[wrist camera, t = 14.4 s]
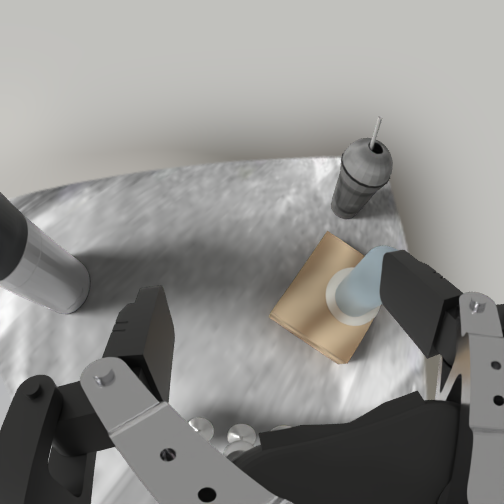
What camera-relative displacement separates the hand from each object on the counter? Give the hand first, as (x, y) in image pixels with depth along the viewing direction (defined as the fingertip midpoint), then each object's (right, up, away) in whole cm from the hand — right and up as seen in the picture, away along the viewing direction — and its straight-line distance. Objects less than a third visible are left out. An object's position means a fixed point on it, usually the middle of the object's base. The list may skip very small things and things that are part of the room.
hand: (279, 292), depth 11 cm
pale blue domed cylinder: (+13, -5, +29) cm, 32 cm away
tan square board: (+10, -6, +33) cm, 35 cm away
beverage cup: (+14, +9, +39) cm, 43 cm away
